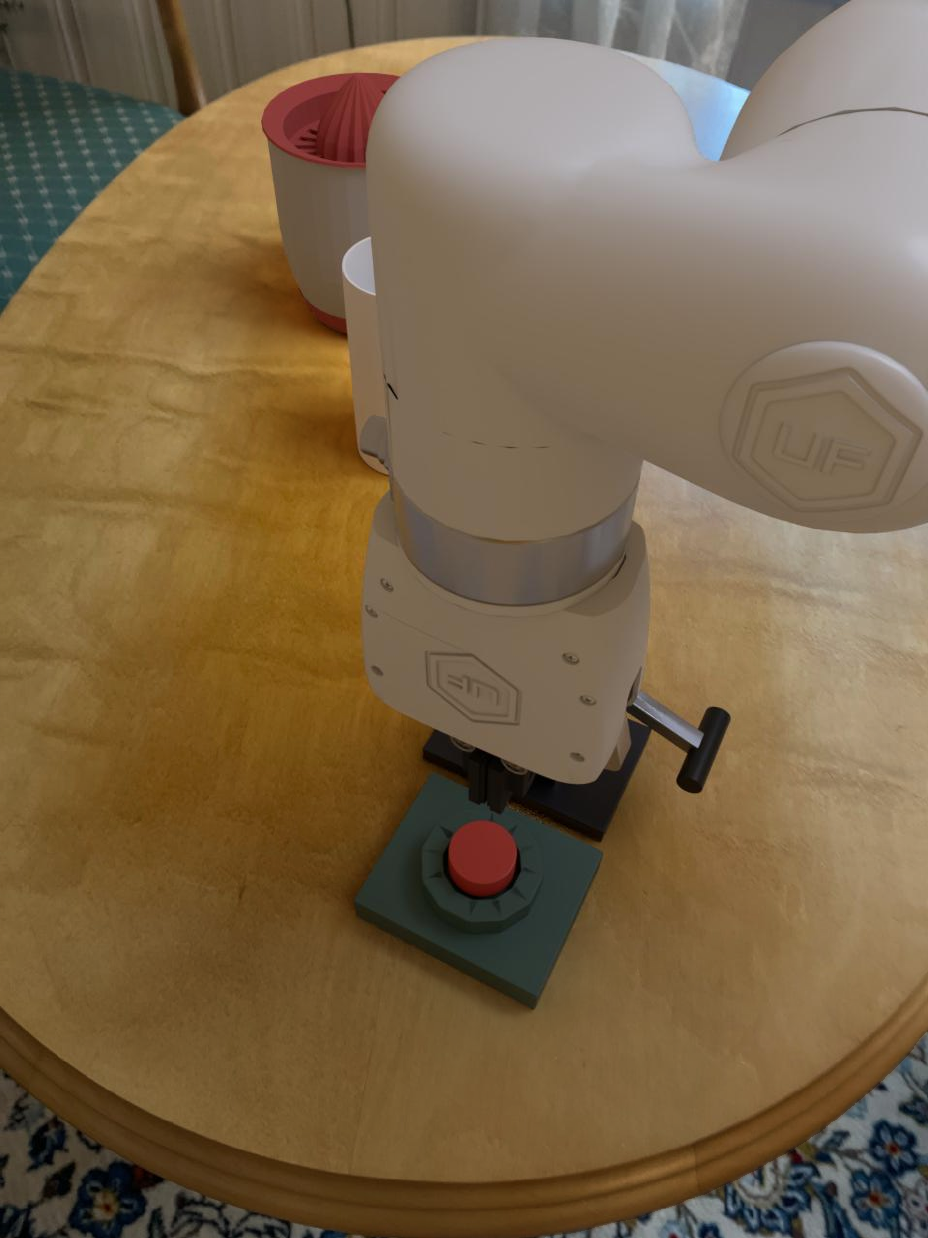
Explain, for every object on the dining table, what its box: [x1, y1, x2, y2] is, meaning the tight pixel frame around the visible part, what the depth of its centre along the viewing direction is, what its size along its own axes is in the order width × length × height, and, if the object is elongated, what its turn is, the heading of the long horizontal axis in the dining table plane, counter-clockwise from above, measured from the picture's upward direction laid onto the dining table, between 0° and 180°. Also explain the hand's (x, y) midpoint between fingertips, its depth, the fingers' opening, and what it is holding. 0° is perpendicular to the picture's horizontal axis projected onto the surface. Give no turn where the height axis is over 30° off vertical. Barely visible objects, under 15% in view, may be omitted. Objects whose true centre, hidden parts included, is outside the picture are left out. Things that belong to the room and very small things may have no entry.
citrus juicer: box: [260, 72, 401, 334], centre depth 83 cm, size 16×17×20 cm
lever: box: [626, 689, 732, 795], centre depth 53 cm, size 12×5×2 cm, turn 63°
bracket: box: [422, 717, 652, 843], centre depth 56 cm, size 12×8×13 cm, turn 63°
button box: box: [353, 771, 604, 1010], centre depth 54 cm, size 11×9×4 cm
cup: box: [342, 236, 389, 476], centre depth 72 cm, size 8×8×16 cm
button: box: [448, 821, 517, 897], centre depth 52 cm, size 4×4×2 cm
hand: (499, 782), depth 45 cm, fingers closed
